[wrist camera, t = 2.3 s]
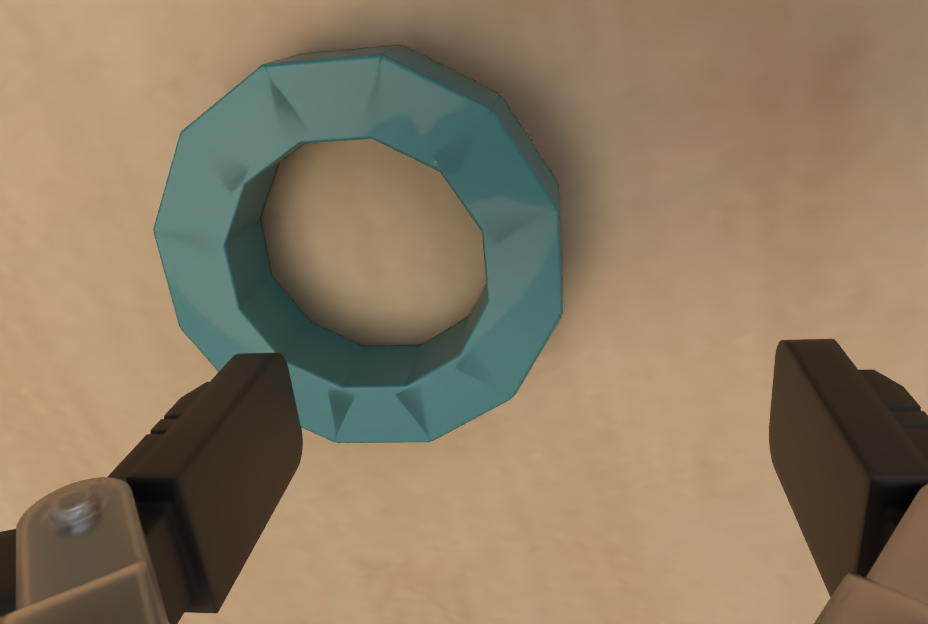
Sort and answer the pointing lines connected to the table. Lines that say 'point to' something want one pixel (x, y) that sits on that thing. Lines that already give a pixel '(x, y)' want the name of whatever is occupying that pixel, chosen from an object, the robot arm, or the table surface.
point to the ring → (407, 131)
